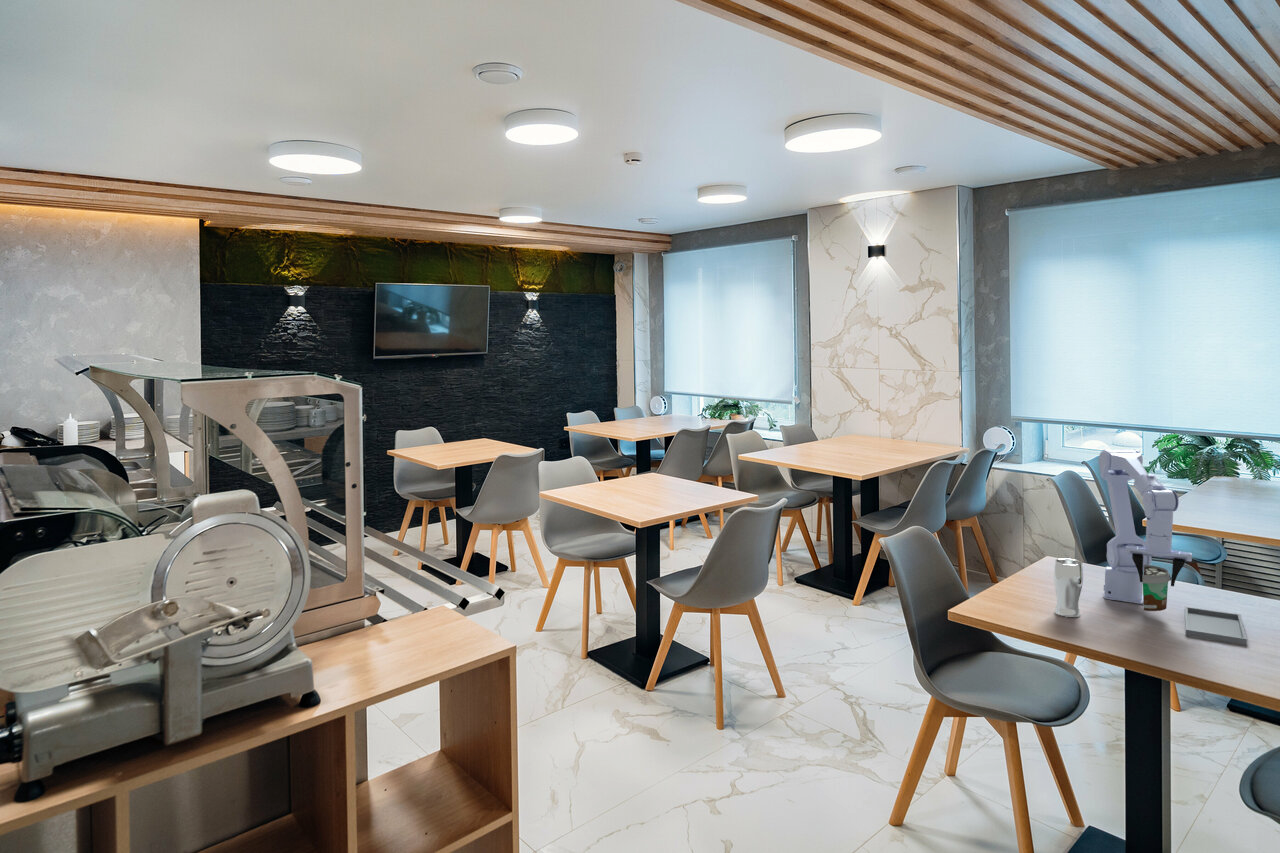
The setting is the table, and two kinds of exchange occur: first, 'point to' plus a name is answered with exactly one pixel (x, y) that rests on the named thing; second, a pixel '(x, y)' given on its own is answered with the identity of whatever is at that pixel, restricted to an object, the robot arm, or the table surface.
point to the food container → (1155, 588)
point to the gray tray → (1214, 625)
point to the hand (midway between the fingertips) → (1156, 583)
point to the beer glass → (1068, 586)
